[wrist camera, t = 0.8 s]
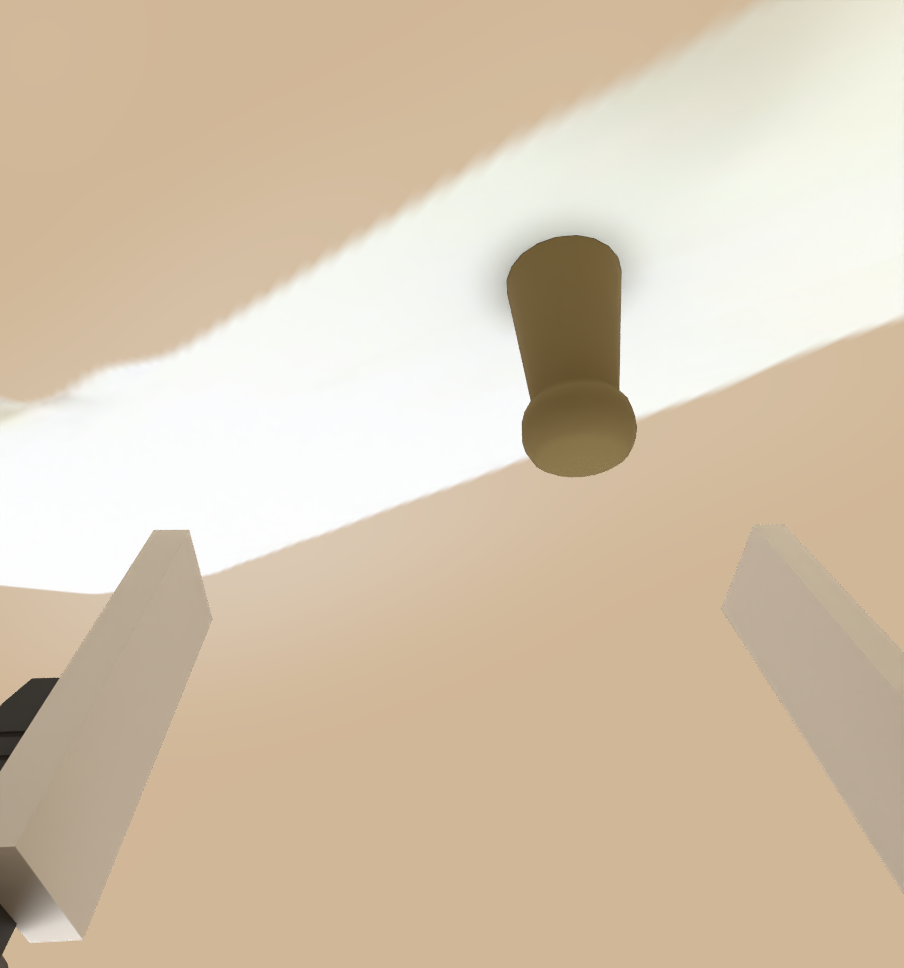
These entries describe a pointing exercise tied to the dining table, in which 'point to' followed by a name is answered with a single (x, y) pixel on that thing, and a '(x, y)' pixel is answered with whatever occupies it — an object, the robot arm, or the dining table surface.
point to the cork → (571, 356)
